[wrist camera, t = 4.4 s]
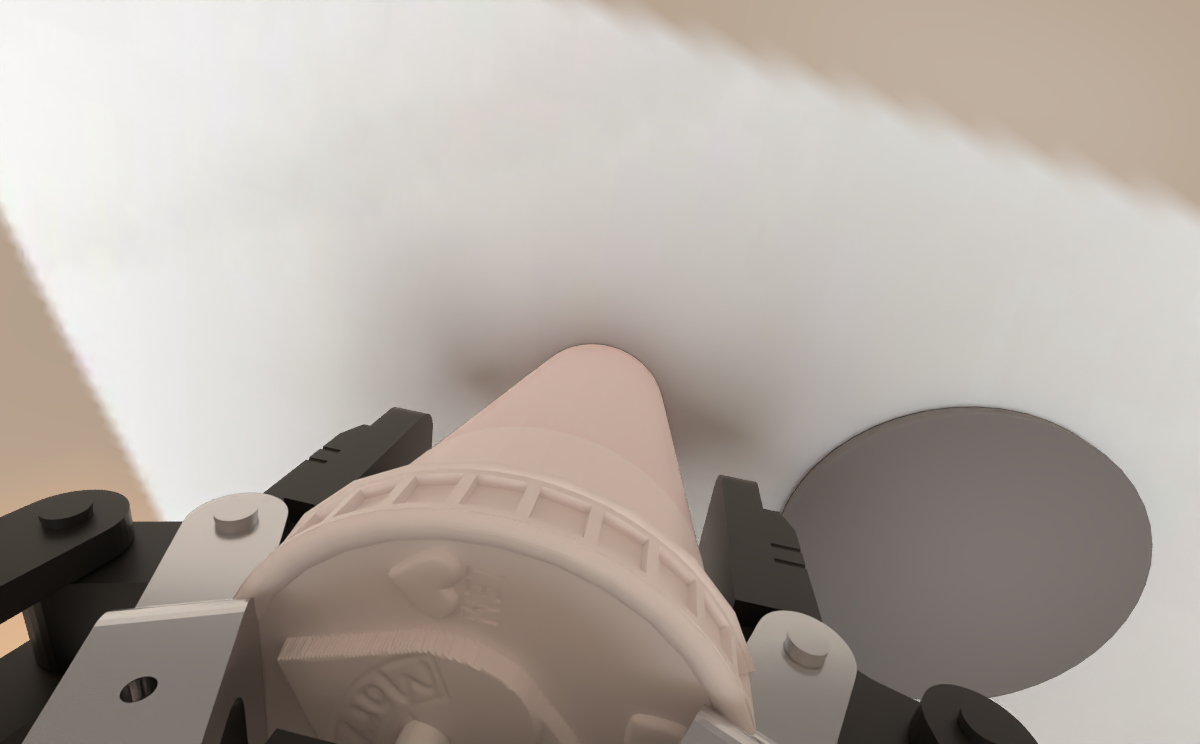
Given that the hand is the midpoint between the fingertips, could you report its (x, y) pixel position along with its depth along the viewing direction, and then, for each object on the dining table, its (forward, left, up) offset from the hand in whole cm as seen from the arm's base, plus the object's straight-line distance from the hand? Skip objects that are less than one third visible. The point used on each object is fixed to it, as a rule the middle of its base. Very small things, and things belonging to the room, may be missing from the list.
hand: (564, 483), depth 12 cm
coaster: (-10, -4, -4) cm, 11 cm away
